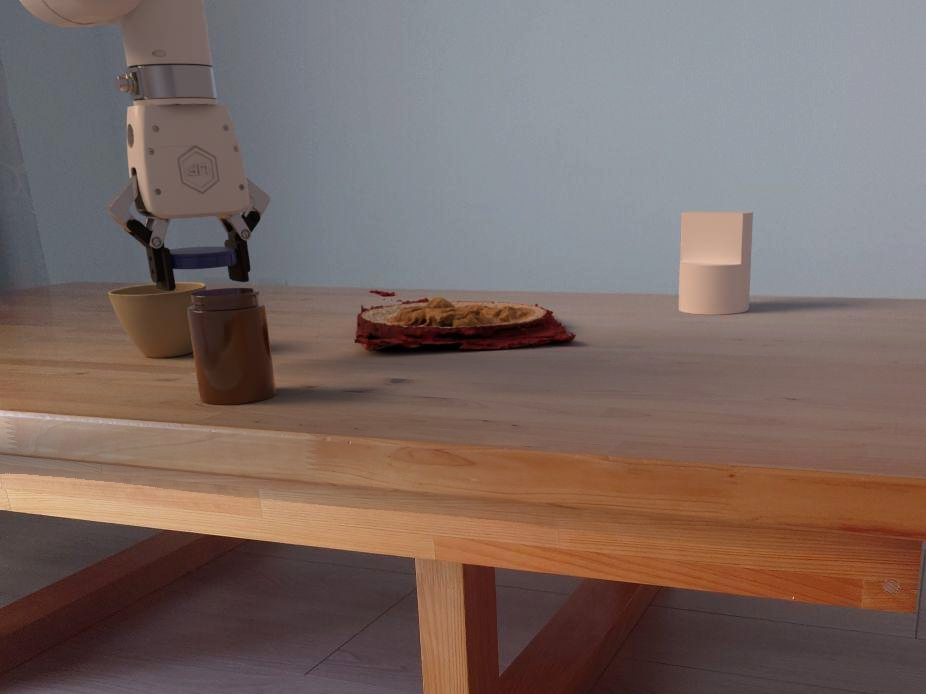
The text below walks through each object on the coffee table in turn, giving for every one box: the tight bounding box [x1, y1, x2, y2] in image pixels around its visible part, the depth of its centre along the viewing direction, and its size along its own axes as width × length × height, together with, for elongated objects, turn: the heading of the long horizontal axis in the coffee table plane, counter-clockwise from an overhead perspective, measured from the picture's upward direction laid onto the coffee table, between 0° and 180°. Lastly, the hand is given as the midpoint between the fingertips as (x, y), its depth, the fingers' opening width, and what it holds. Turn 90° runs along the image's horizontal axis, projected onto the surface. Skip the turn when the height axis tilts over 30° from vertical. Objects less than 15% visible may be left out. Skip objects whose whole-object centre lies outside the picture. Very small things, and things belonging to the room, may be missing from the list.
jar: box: [187, 287, 277, 406], centre depth 89 cm, size 7×7×9 cm
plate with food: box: [353, 289, 577, 351], centre depth 119 cm, size 24×26×4 cm
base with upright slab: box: [678, 210, 754, 316], centre depth 129 cm, size 9×9×12 cm
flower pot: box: [107, 281, 207, 359], centre depth 110 cm, size 10×10×7 cm
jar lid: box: [169, 246, 238, 270], centre depth 99 cm, size 7×7×1 cm
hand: (203, 283), depth 100 cm, fingers closed on jar lid, 7 cm apart
